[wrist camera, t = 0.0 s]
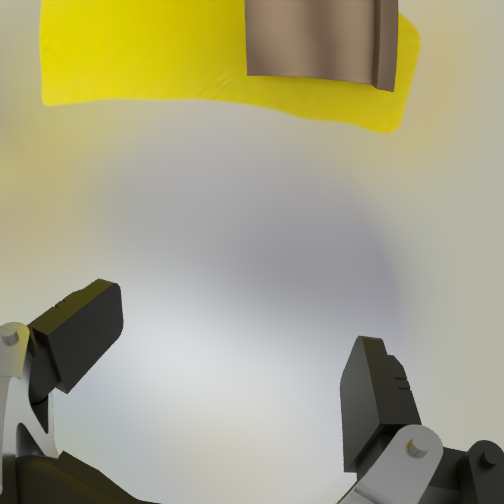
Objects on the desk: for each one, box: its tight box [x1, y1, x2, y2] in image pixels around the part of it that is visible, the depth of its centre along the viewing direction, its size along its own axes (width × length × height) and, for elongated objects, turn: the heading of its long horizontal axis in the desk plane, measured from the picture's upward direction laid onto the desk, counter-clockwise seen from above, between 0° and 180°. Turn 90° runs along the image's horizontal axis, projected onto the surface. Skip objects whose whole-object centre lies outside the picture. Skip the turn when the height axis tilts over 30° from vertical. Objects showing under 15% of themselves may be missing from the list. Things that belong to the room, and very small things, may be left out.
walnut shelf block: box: [245, 0, 398, 92], centre depth 21 cm, size 14×14×9 cm
